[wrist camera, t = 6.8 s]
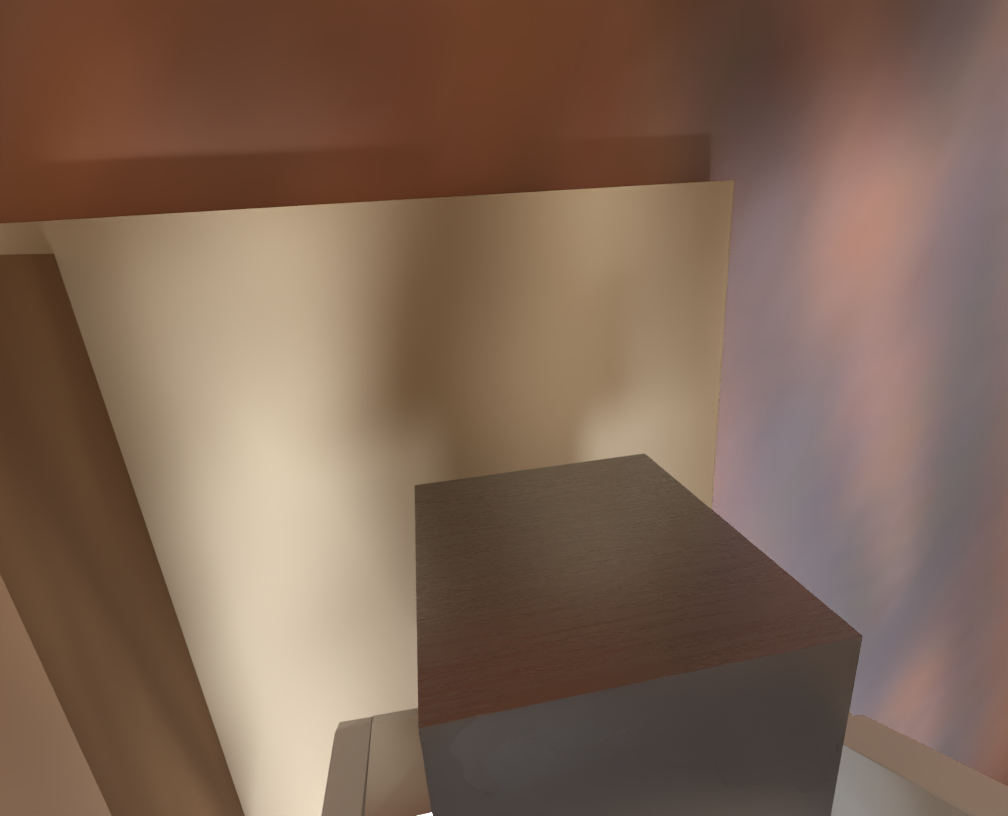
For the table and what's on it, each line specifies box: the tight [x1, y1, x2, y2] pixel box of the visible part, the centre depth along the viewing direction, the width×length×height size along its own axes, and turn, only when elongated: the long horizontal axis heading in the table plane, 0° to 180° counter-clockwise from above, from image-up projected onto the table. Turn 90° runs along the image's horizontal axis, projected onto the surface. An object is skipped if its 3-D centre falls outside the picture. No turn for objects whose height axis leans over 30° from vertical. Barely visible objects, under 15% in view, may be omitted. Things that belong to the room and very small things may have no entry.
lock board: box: [0, 180, 734, 816], centre depth 9 cm, size 26×15×4 cm, turn 94°
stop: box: [415, 453, 862, 816], centre depth 7 cm, size 4×7×4 cm, turn 4°
